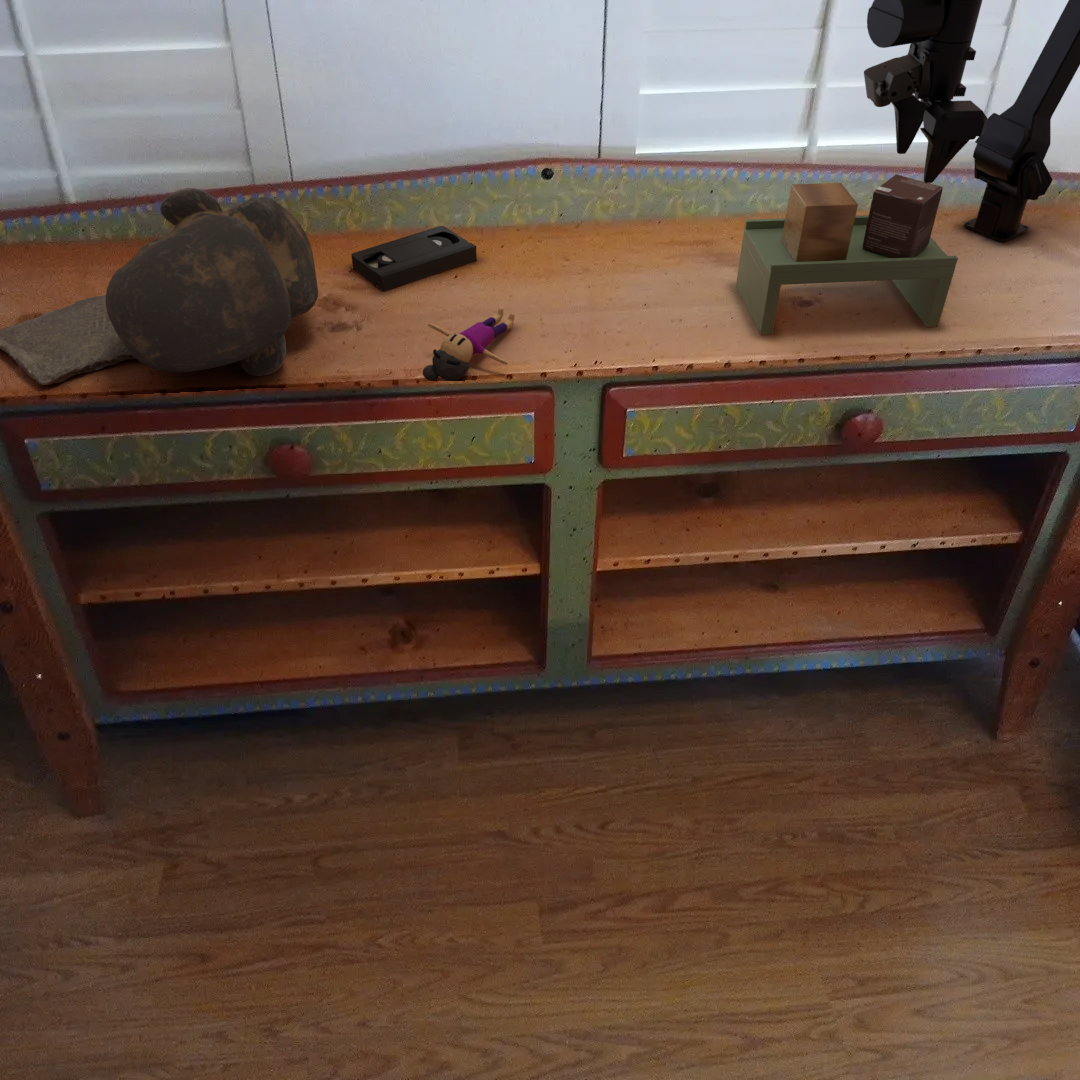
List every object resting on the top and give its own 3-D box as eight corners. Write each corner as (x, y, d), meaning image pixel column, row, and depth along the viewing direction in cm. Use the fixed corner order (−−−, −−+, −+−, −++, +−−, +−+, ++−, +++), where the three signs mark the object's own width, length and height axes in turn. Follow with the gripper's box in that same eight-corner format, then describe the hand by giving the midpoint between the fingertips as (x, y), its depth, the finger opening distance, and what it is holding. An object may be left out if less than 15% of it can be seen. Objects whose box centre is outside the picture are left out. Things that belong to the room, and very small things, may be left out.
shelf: (902, 279, 138) (919, 213, 132) (938, 326, 129) (958, 257, 123) (735, 286, 136) (745, 219, 130) (760, 335, 127) (771, 265, 121)
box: (929, 246, 127) (945, 186, 122) (908, 264, 123) (923, 203, 118) (881, 231, 130) (895, 172, 125) (859, 249, 126) (873, 189, 121)
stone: (173, 330, 121) (51, 384, 113) (178, 352, 123) (58, 406, 115) (93, 278, 129) (-27, 325, 121) (99, 299, 131) (-18, 346, 123)
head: (250, 151, 125) (49, 239, 117) (310, 136, 106) (76, 240, 98) (328, 314, 135) (146, 407, 126) (395, 327, 116) (187, 437, 108)
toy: (547, 324, 125) (488, 365, 113) (535, 364, 128) (476, 409, 116) (472, 287, 127) (406, 324, 115) (461, 327, 130) (396, 367, 118)
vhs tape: (443, 238, 145) (442, 224, 143) (476, 260, 140) (476, 246, 139) (351, 267, 138) (349, 253, 137) (383, 291, 134) (382, 277, 132)
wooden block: (829, 239, 128) (841, 182, 124) (845, 262, 124) (858, 204, 119) (781, 240, 128) (791, 184, 123) (795, 264, 123) (806, 206, 118)
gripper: (853, 14, 131) (829, 141, 141) (909, 63, 117) (877, 200, 127) (941, 12, 132) (910, 139, 142) (1006, 61, 118) (967, 197, 128)
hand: (914, 167), depth 135 cm, fingers open, 9 cm apart
